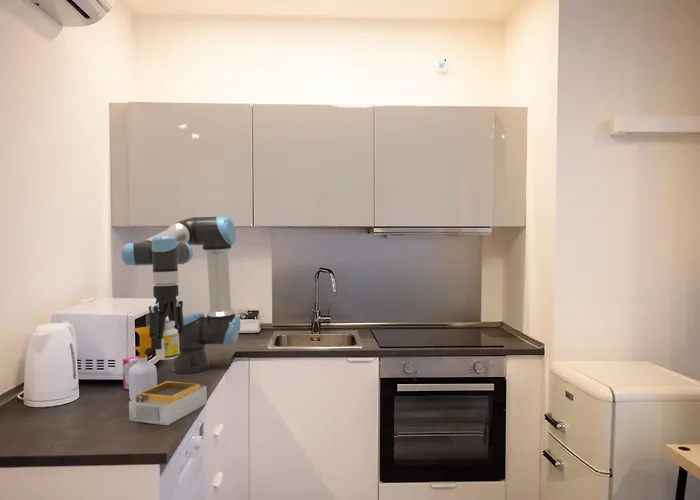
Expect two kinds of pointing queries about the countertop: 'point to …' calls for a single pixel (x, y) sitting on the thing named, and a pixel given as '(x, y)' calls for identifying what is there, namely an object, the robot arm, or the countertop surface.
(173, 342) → the pill bottle
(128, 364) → the supplement box
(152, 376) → the spray bottle
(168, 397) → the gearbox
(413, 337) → the countertop surface
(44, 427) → the countertop surface
